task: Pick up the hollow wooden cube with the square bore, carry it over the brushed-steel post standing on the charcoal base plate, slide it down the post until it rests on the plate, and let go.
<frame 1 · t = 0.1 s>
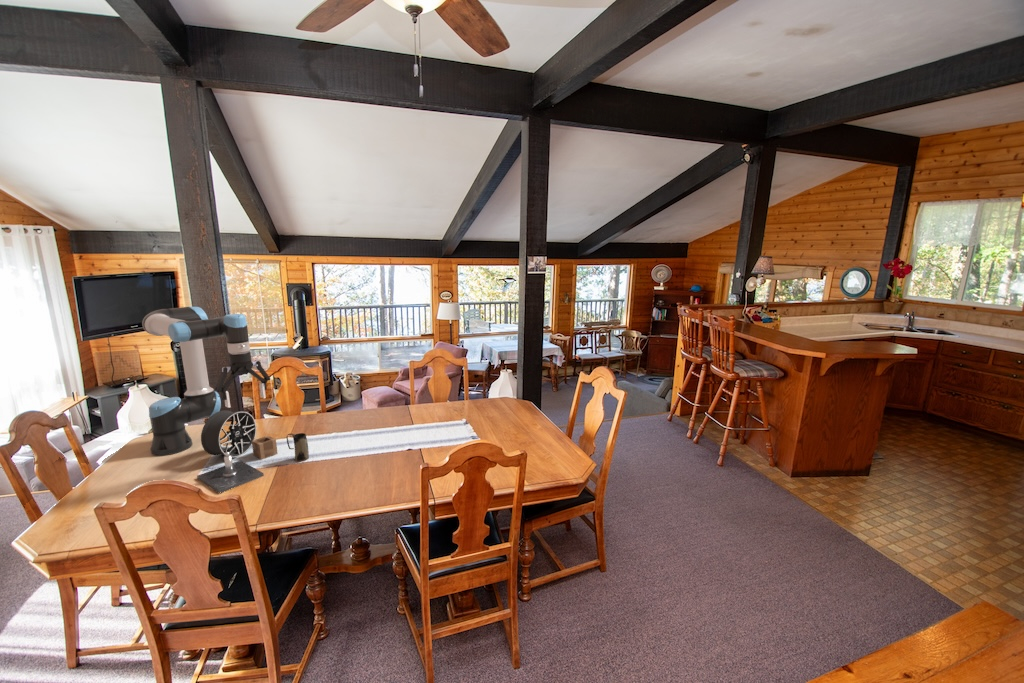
hand: (246, 402, 175), 28 cm above the table, fingers open, 13 cm apart
wheel rim: (232, 454, 191), on the table
hollow wooden cube: (265, 454, 190), on the table
mug: (299, 459, 185), on the table
shaft stand: (230, 477, 170), on the table
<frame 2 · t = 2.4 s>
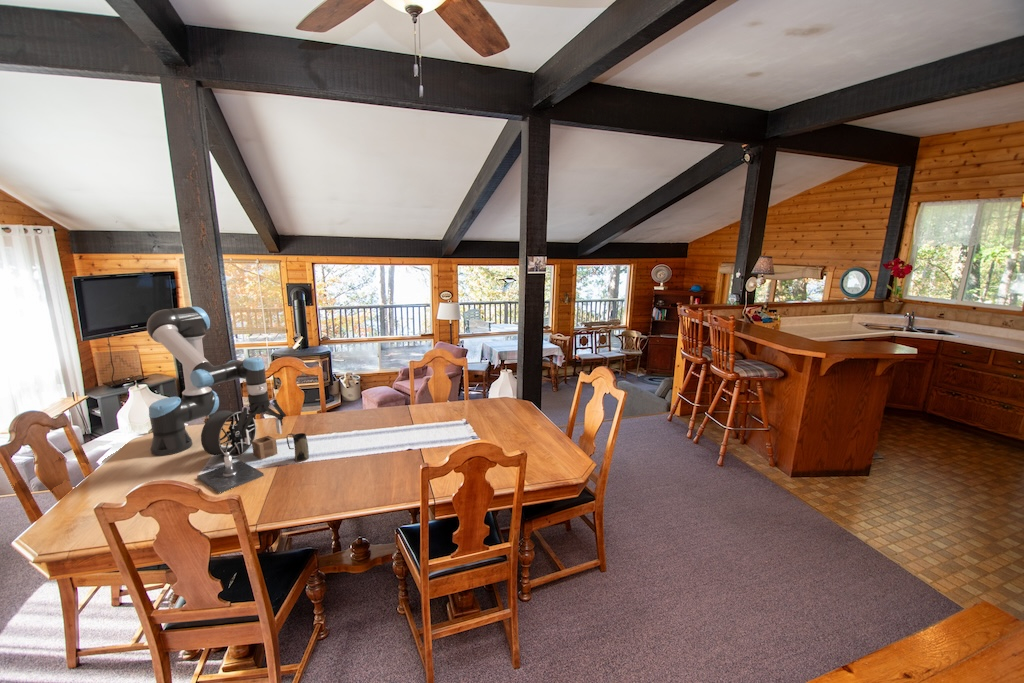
hand: (264, 438, 188), 8 cm above the table, fingers open, 13 cm apart
nothing on the table moved.
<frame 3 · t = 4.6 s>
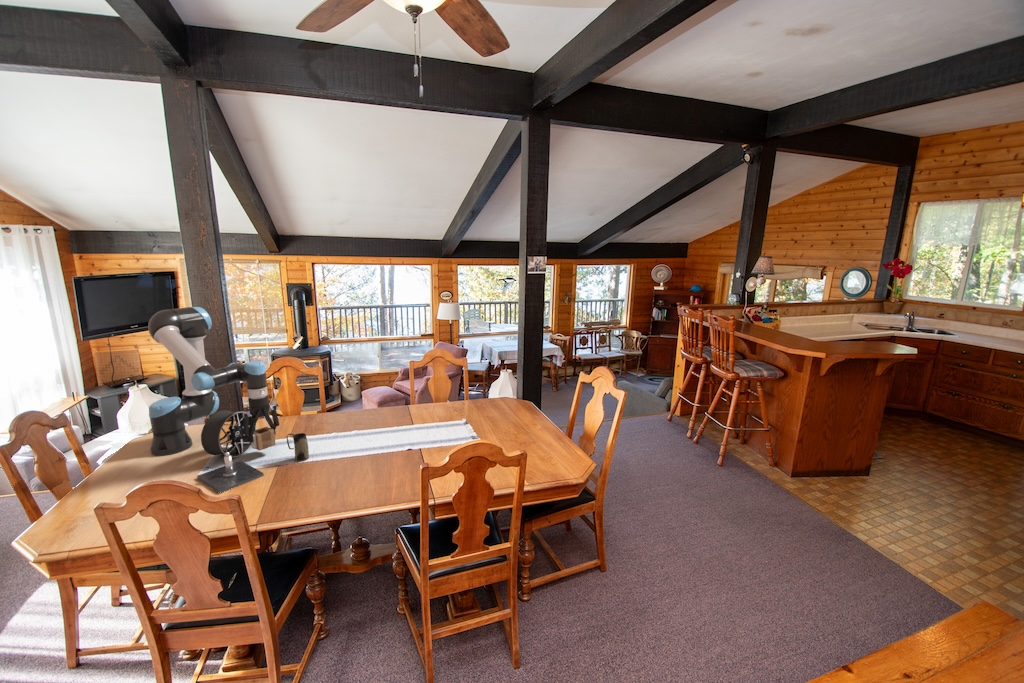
hand: (263, 445, 189), 4 cm above the table, fingers closed on hollow wooden cube, 7 cm apart
hollow wooden cube: (263, 445, 189), point 4 cm above the table, touching gripper
everything else where it was.
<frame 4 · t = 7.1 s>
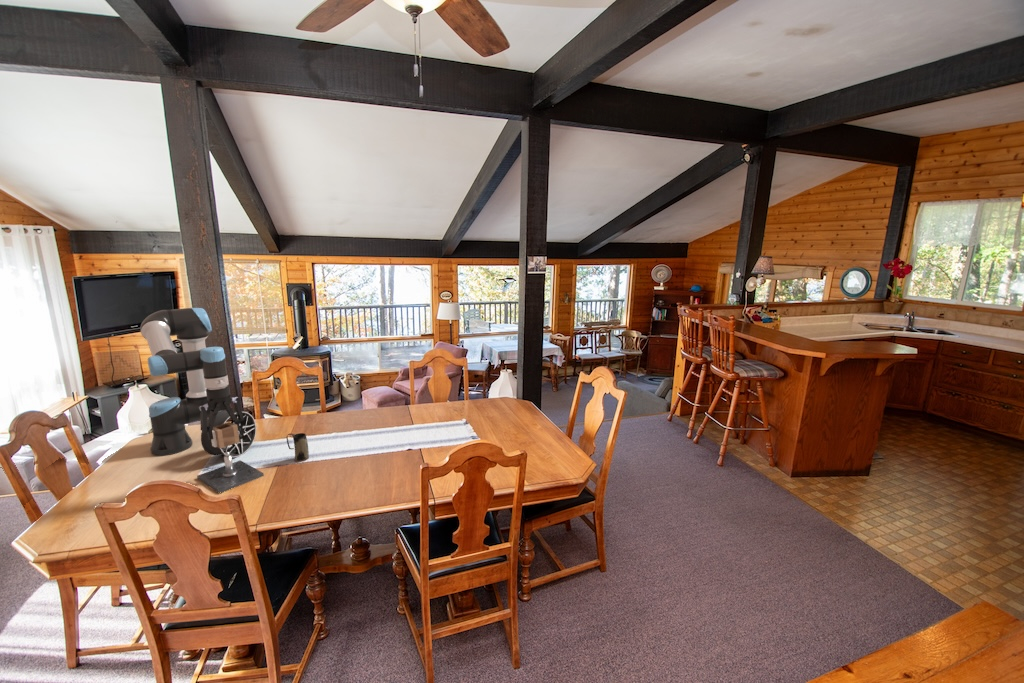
hand: (225, 442, 167), 15 cm above the table, fingers closed on hollow wooden cube, 7 cm apart
hollow wooden cube: (226, 443, 167), point 15 cm above the table, touching gripper
everything else where it was.
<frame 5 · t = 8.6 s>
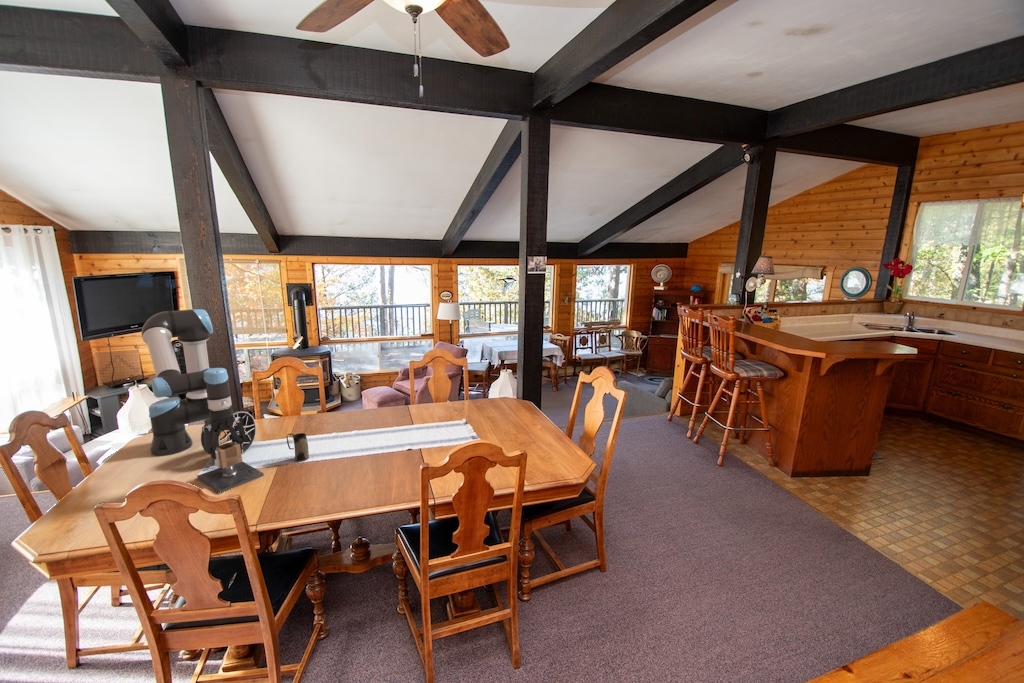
hand: (228, 462, 169), 7 cm above the table, fingers closed on hollow wooden cube, 7 cm apart
hollow wooden cube: (228, 462, 169), point 6 cm above the table, touching gripper
everything else where it was.
when the fingers open (2 cm above the table, at t = 9.8 s): hollow wooden cube stays where it is, resting on shaft stand.
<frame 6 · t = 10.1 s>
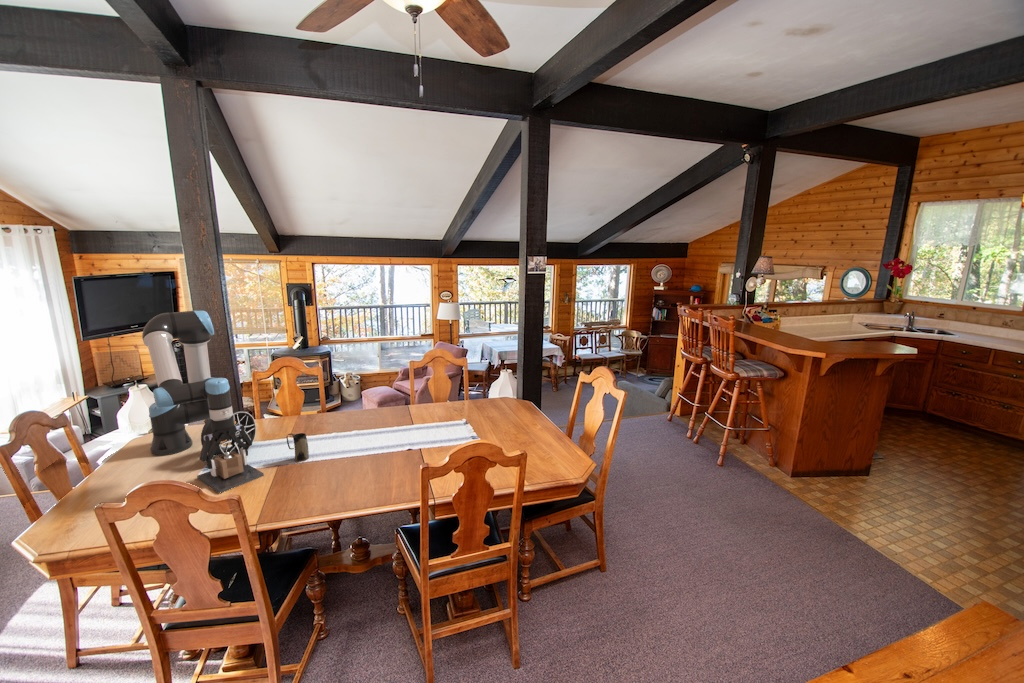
hand: (229, 469, 170), 3 cm above the table, fingers open, 10 cm apart
hollow wooden cube: (230, 472, 170), point 2 cm above the table, touching shaft stand
everything else where it was.
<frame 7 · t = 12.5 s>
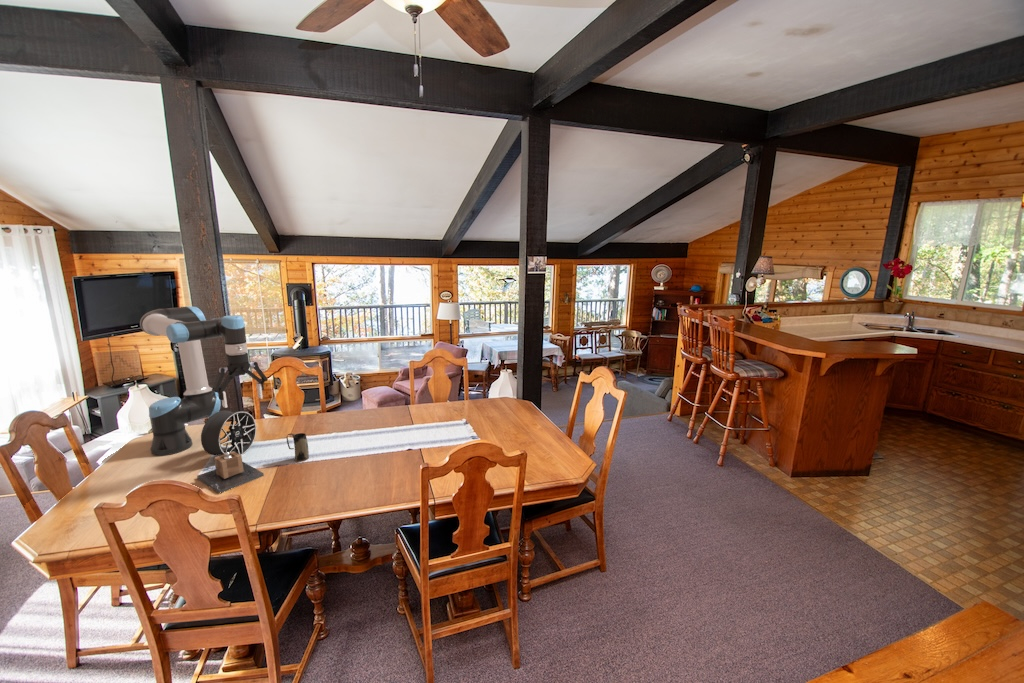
hand: (243, 402, 178), 27 cm above the table, fingers open, 13 cm apart
nothing on the table moved.
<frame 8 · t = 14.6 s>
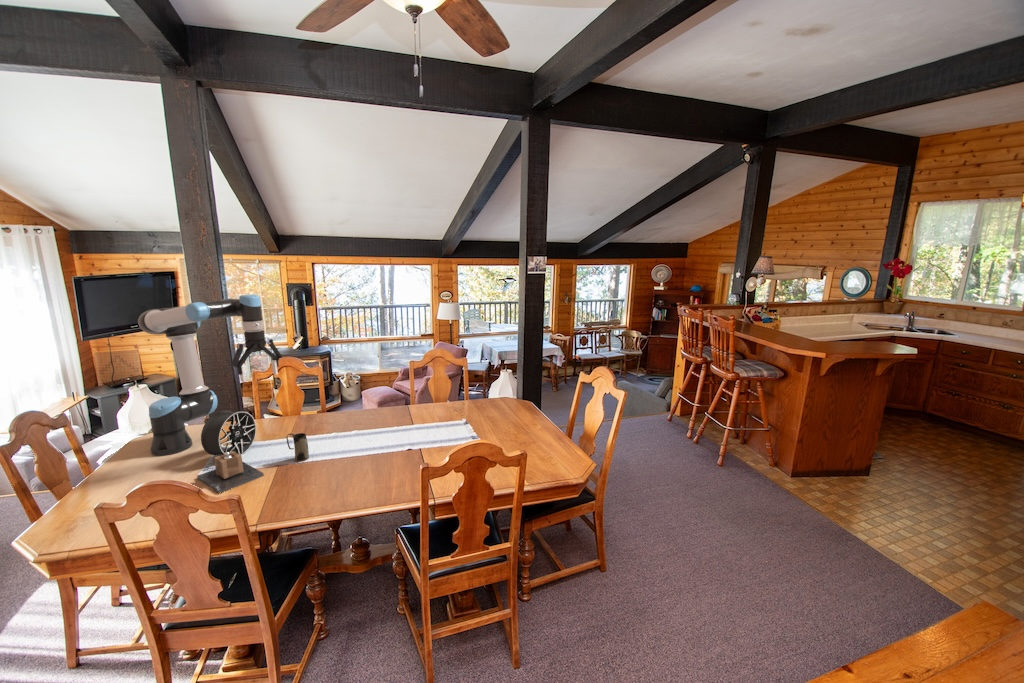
hand: (259, 377, 187), 35 cm above the table, fingers open, 13 cm apart
nothing on the table moved.
at the end: hollow wooden cube 0.0 cm off-centre on the shaft stand, point 2.0 cm above the shaft stand's base; hollow wooden cube tilted 0°; the gripper is holding nothing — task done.
